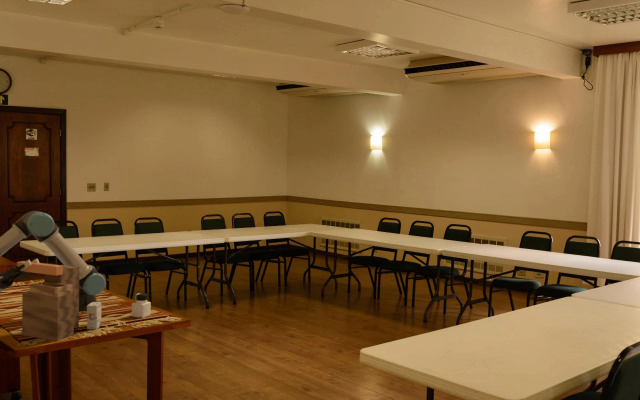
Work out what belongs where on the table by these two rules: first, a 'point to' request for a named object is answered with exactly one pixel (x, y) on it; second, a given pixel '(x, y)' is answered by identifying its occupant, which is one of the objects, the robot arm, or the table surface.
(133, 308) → the medicine bottle
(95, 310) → the ink box
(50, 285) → the brown stepped wooden block
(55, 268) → the block
